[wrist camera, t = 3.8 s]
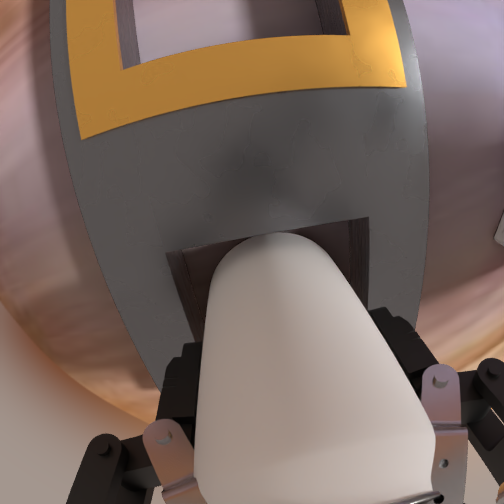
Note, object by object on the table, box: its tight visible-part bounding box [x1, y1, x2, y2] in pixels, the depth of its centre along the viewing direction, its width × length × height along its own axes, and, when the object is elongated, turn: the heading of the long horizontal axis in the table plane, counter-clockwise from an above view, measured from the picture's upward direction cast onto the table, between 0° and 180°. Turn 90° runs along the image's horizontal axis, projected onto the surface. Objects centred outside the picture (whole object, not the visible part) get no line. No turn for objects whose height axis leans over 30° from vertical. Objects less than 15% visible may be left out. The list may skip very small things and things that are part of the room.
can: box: [194, 232, 441, 504], centre depth 9 cm, size 6×6×12 cm
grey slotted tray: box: [50, 0, 429, 393], centre depth 11 cm, size 27×14×3 cm, turn 9°
